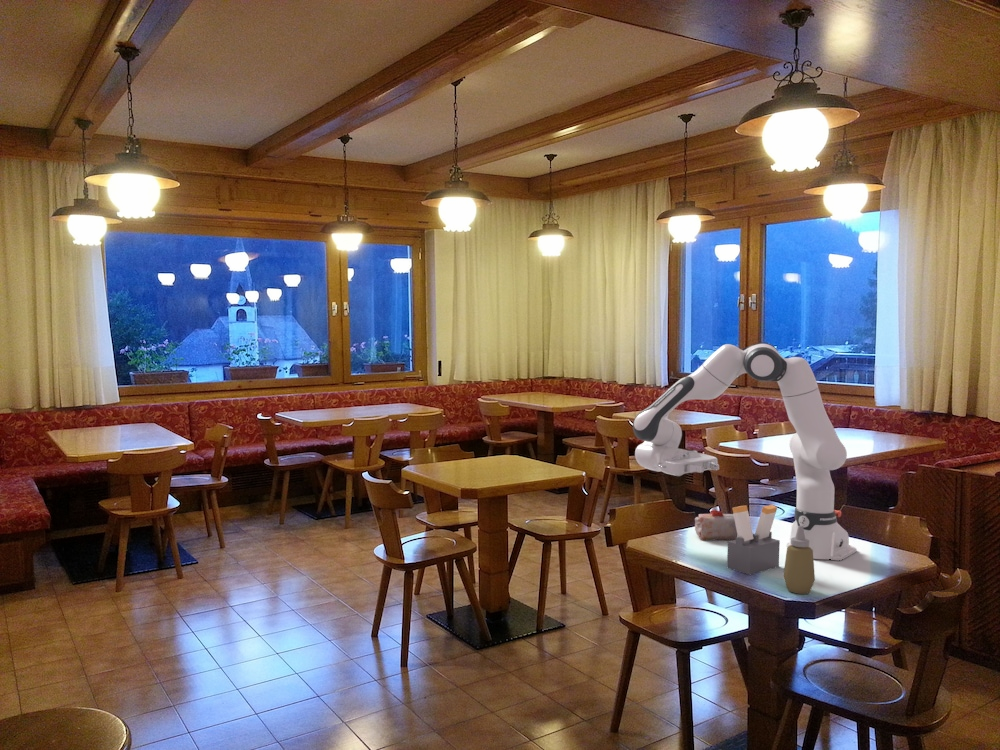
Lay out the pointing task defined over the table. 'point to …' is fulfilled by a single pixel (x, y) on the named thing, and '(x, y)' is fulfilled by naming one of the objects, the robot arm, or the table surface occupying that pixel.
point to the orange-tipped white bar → (765, 521)
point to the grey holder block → (753, 554)
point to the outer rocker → (742, 522)
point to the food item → (716, 526)
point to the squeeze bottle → (799, 564)
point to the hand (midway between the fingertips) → (710, 468)
